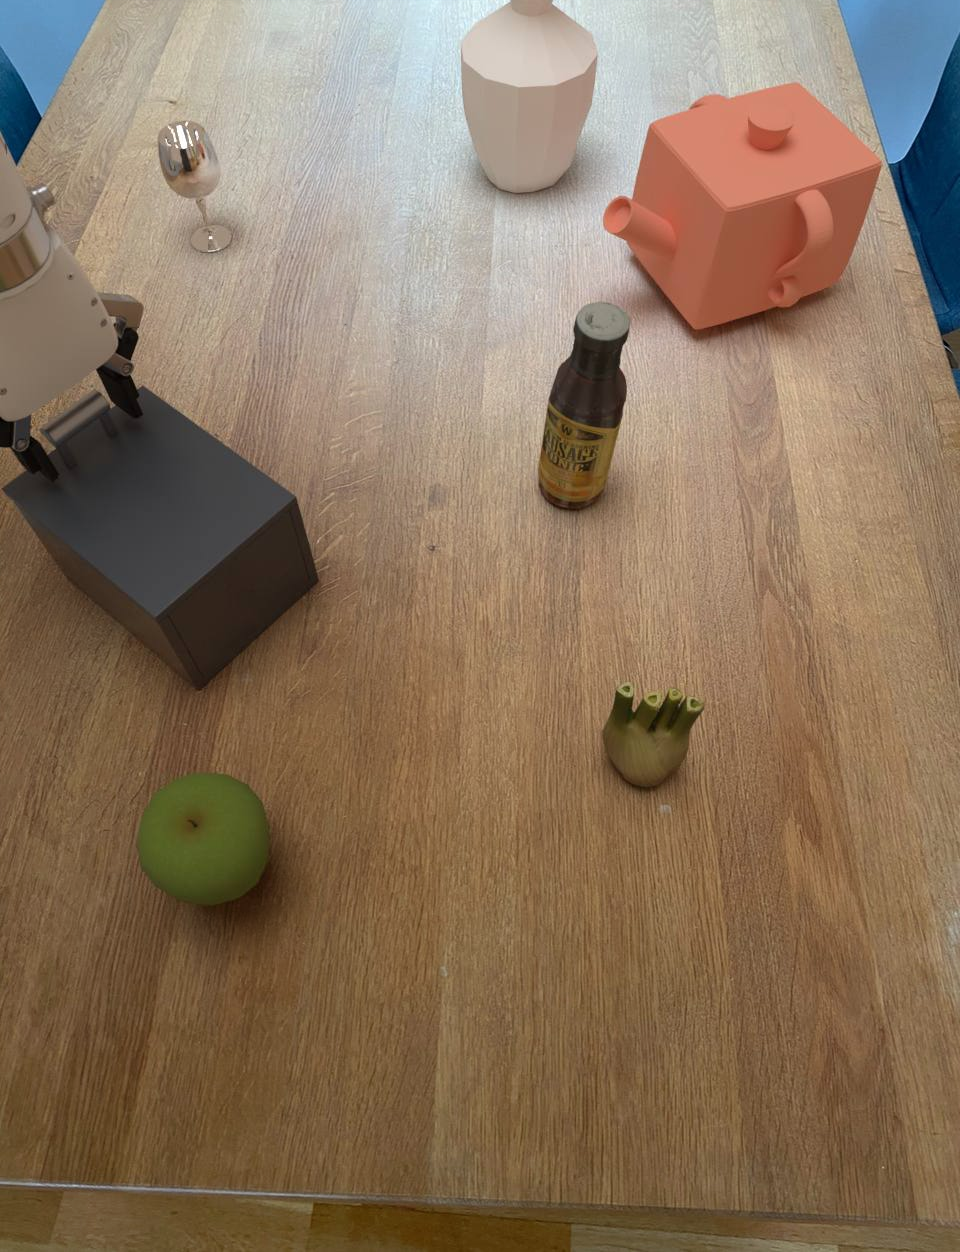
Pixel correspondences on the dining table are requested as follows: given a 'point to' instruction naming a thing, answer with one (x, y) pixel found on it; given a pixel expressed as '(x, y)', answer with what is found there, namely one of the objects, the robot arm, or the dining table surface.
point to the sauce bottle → (585, 409)
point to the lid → (148, 498)
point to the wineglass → (193, 175)
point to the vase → (527, 92)
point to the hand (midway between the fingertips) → (86, 438)
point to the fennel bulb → (649, 734)
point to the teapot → (746, 202)
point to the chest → (207, 599)
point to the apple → (204, 839)
